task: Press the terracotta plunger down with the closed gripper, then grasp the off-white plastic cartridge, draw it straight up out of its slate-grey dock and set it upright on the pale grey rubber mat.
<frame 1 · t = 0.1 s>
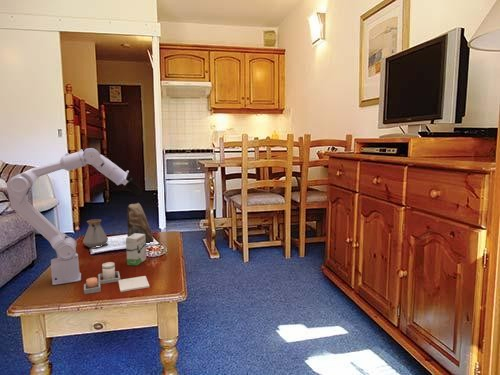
hand: (140, 192, 145), 32 cm above the table, tool tilted 50°, fingers open, 7 cm apart
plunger: (91, 282, 129), point 3 cm above the table, slide at 0.0 cm
dock: (109, 279, 139), on the table
mat: (133, 284, 134), on the table
cartridge: (108, 271, 138), in the dock
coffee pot: (95, 249, 176), on the table
brown tapered rock: (140, 243, 184), on the table
ink box: (137, 262, 157), on the table
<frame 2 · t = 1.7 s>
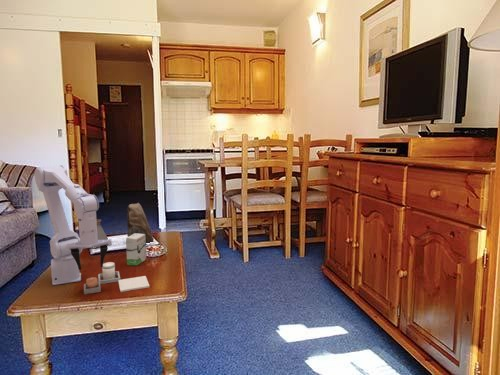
hand: (90, 267, 128), 8 cm above the table, tool pointing down, fingers open, 6 cm apart
nothing on the table moved.
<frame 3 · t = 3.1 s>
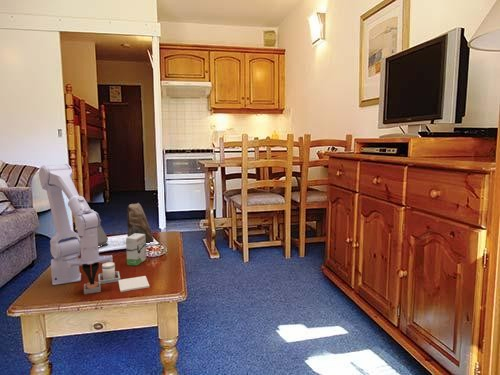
hand: (92, 283, 129), 2 cm above the table, tool pointing down, fingers closed, pressing on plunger
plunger: (92, 286, 129), point 1 cm above the table, slide at 1.5 cm, touching gripper
everything else where it was.
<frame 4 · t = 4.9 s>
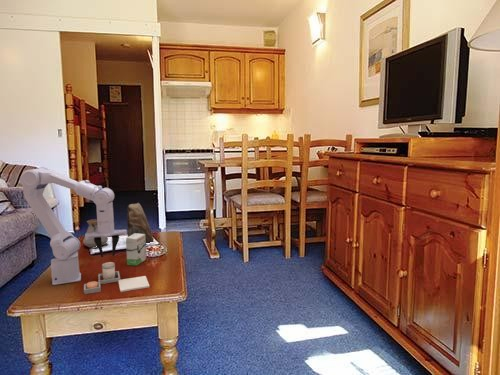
hand: (107, 255, 137), 9 cm above the table, tool pointing down, fingers open, 3 cm apart
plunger: (92, 286, 129), point 1 cm above the table, slide at 1.5 cm
everything else where it was.
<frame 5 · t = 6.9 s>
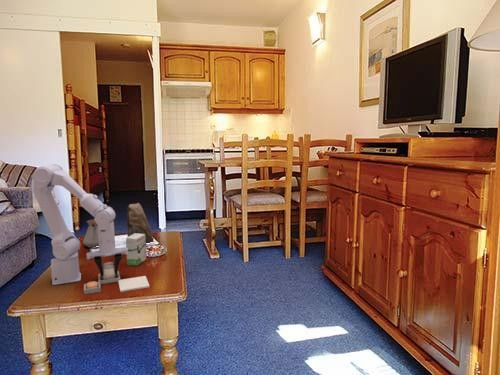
hand: (108, 274, 138), 2 cm above the table, tool pointing down, fingers closed on cartridge, 4 cm apart
cartridge: (108, 271, 138), in the dock, touching gripper
everything else where it was.
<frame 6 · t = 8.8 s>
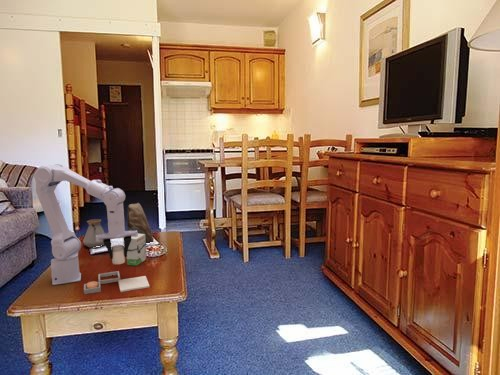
hand: (118, 257, 135), 10 cm above the table, tool pointing down, fingers closed on cartridge, 4 cm apart
cartridge: (118, 254, 135), point 10 cm above the table, touching gripper
everything else where it was.
when the fingers open (4 cm above the table, at t = 10.8 s): cartridge stays where it is, resting on mat.
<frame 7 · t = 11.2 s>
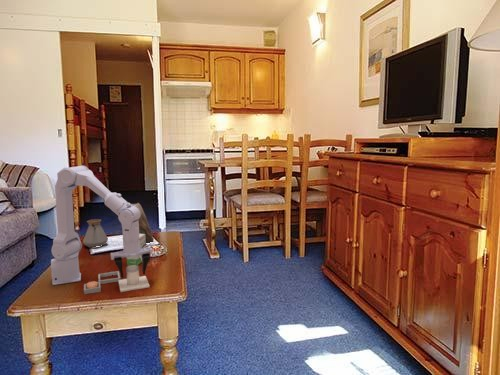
hand: (133, 275, 133), 4 cm above the table, tool pointing down, fingers open, 7 cm apart
cartridge: (132, 275, 133), on the mat, point 4 cm above the table
everything else where it was.
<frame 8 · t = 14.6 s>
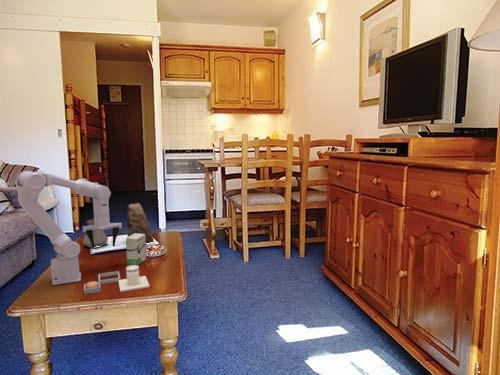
hand: (103, 246, 148), 9 cm above the table, tool pointing down, fingers open, 7 cm apart
nothing on the table moved.
at the end: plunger slide at 1.5 cm; cartridge inside the target area (0.1 cm from its centre), point 3.6 cm above the table; cartridge tilted 0° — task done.
